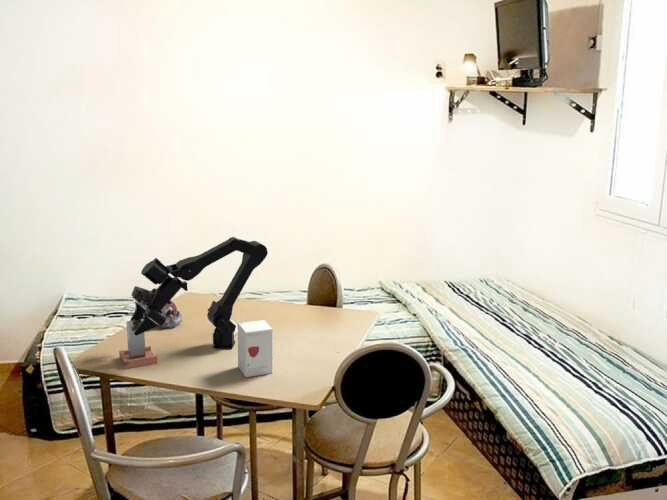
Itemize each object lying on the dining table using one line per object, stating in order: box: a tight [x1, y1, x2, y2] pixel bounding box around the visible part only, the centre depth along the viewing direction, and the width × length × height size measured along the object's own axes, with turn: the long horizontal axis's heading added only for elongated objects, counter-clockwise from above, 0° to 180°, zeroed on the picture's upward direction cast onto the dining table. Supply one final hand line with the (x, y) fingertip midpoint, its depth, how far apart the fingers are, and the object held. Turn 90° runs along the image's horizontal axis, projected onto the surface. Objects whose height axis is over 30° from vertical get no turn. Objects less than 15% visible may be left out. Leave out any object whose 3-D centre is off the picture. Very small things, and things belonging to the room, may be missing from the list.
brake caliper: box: [158, 299, 183, 329], centre depth 235 cm, size 11×11×12 cm
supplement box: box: [237, 319, 273, 378], centre depth 196 cm, size 9×9×15 cm
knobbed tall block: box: [125, 319, 146, 360], centre depth 201 cm, size 4×5×13 cm
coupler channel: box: [119, 345, 158, 370], centre depth 203 cm, size 10×10×2 cm
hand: (132, 330), depth 200 cm, fingers open, 9 cm apart
